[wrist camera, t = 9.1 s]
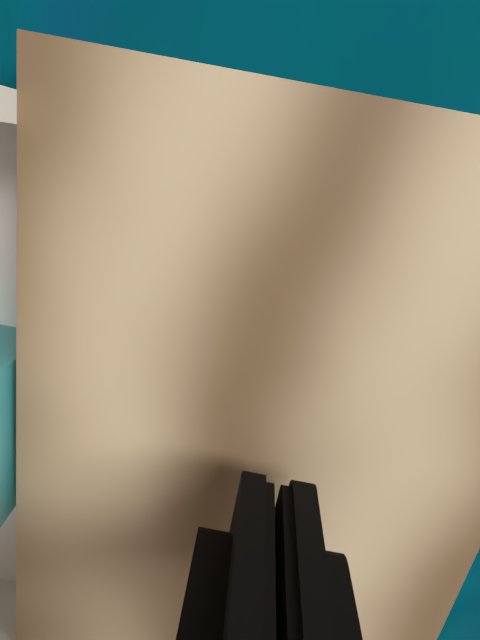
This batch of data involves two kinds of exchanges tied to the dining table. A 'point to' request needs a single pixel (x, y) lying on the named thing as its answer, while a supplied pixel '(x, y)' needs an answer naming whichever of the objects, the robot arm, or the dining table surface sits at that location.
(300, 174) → the board
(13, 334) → the tile teal
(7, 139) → the tray
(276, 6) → the dining table surface
